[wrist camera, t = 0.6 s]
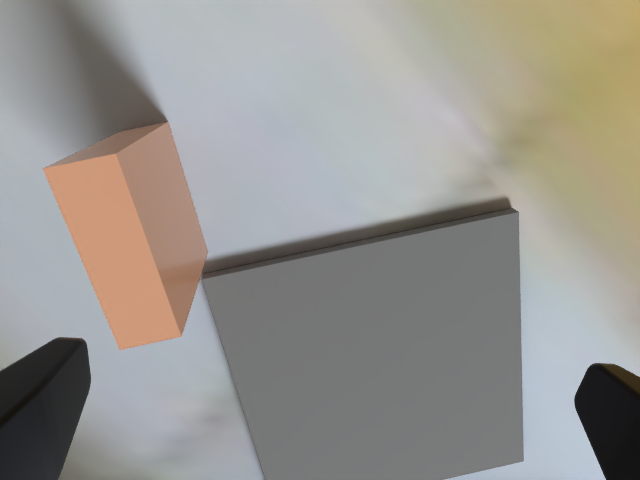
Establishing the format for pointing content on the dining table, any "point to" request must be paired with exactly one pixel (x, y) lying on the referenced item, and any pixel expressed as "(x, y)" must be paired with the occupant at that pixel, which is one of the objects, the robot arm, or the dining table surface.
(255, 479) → the dining table surface
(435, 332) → the mat
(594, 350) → the dining table surface
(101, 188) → the tile
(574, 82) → the dining table surface
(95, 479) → the dining table surface
